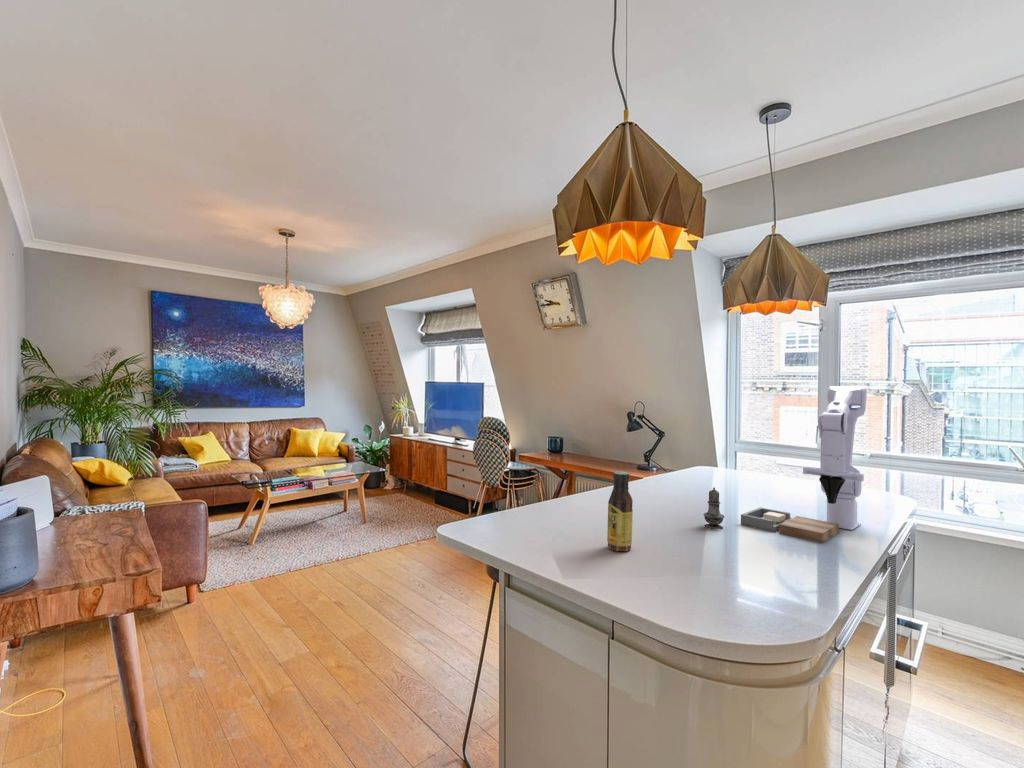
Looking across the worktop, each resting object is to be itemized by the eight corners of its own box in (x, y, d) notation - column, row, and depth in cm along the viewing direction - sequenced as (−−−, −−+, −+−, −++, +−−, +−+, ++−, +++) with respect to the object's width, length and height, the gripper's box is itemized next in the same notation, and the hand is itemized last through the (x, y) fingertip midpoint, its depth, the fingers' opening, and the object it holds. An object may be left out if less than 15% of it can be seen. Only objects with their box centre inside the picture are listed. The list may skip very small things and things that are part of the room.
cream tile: (769, 516, 153) (769, 511, 153) (785, 519, 149) (785, 514, 149) (763, 518, 150) (763, 513, 150) (779, 522, 146) (779, 517, 146)
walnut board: (797, 524, 151) (797, 516, 151) (838, 532, 143) (838, 523, 143) (779, 533, 142) (779, 524, 142) (822, 542, 134) (822, 533, 134)
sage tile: (766, 520, 153) (766, 515, 153) (781, 523, 150) (781, 518, 150) (760, 523, 150) (760, 518, 150) (775, 526, 147) (776, 521, 147)
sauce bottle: (604, 545, 130) (605, 469, 130) (627, 544, 130) (628, 469, 130) (611, 553, 123) (612, 474, 123) (635, 553, 124) (636, 474, 124)
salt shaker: (726, 530, 144) (726, 489, 144) (705, 529, 145) (705, 488, 145) (722, 525, 150) (722, 485, 150) (701, 523, 151) (701, 484, 151)
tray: (760, 516, 159) (760, 507, 159) (793, 523, 152) (793, 513, 152) (740, 524, 150) (740, 514, 150) (775, 532, 143) (775, 521, 143)
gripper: (798, 453, 142) (798, 500, 142) (858, 459, 131) (857, 510, 131) (808, 451, 147) (807, 496, 147) (866, 457, 136) (865, 506, 136)
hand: (831, 503), depth 139 cm, fingers closed
